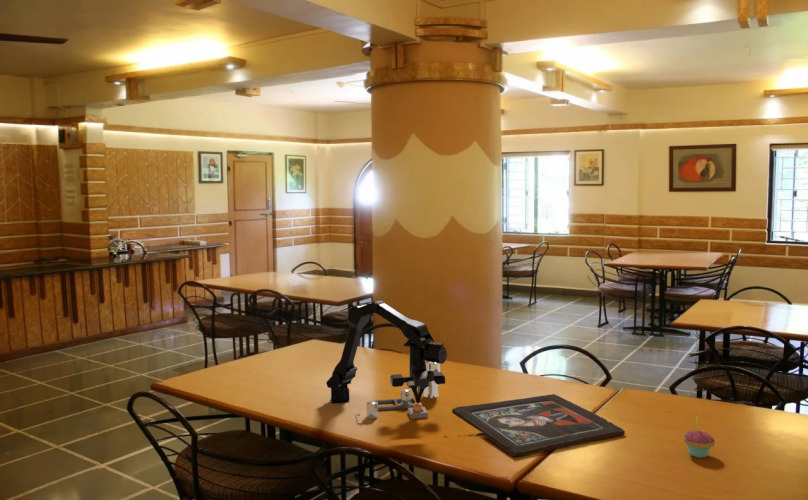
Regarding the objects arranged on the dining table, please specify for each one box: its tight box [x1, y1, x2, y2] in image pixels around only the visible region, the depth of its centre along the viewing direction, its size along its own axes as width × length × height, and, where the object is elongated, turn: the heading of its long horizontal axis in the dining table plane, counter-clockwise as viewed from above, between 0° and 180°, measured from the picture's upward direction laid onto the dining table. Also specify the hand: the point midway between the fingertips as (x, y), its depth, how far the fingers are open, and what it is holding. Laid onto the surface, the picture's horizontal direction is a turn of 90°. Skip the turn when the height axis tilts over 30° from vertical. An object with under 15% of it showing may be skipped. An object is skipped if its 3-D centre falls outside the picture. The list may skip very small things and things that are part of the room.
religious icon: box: [451, 393, 626, 458], centre depth 217 cm, size 40×45×3 cm
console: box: [407, 406, 429, 420], centre depth 223 cm, size 6×6×3 cm
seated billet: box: [400, 388, 412, 405], centre depth 233 cm, size 4×4×6 cm
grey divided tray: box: [373, 397, 416, 412], centre depth 233 cm, size 15×8×3 cm, turn 99°
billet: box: [366, 400, 379, 420], centre depth 221 cm, size 4×4×6 cm
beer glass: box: [423, 361, 441, 399], centre depth 244 cm, size 7×7×15 cm
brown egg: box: [413, 402, 423, 412], centre depth 223 cm, size 3×3×4 cm
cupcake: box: [683, 413, 716, 459], centre depth 191 cm, size 9×8×12 cm
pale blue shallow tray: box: [354, 413, 364, 425], centre depth 222 cm, size 11×9×1 cm
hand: (417, 403), depth 223 cm, fingers closed
